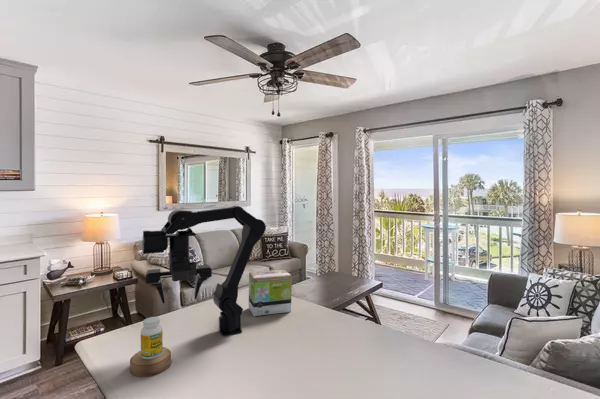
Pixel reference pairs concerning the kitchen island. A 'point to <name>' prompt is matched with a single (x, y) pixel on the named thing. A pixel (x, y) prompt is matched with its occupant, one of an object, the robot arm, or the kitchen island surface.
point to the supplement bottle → (151, 338)
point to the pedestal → (150, 364)
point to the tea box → (270, 292)
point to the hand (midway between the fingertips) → (179, 301)
